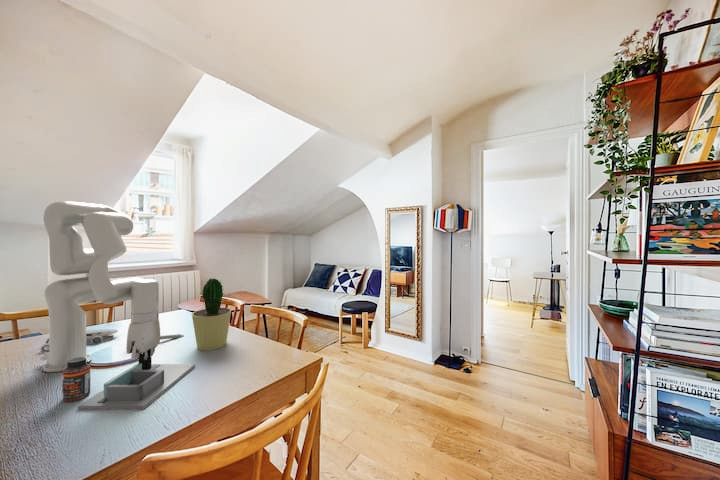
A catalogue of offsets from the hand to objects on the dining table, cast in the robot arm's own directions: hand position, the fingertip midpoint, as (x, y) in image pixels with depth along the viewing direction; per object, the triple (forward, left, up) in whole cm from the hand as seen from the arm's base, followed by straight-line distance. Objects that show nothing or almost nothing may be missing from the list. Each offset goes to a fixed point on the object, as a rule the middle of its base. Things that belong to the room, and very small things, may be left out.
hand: (145, 369), depth 97 cm
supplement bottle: (-11, -13, -3) cm, 17 cm away
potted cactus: (+9, +27, -3) cm, 29 cm away
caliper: (-16, +31, -3) cm, 35 cm away
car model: (-49, +30, -3) cm, 58 cm away
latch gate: (0, -9, -1) cm, 9 cm away
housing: (+4, -6, -2) cm, 7 cm away
